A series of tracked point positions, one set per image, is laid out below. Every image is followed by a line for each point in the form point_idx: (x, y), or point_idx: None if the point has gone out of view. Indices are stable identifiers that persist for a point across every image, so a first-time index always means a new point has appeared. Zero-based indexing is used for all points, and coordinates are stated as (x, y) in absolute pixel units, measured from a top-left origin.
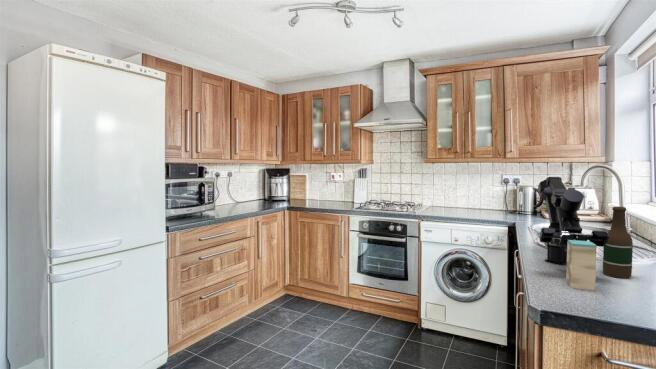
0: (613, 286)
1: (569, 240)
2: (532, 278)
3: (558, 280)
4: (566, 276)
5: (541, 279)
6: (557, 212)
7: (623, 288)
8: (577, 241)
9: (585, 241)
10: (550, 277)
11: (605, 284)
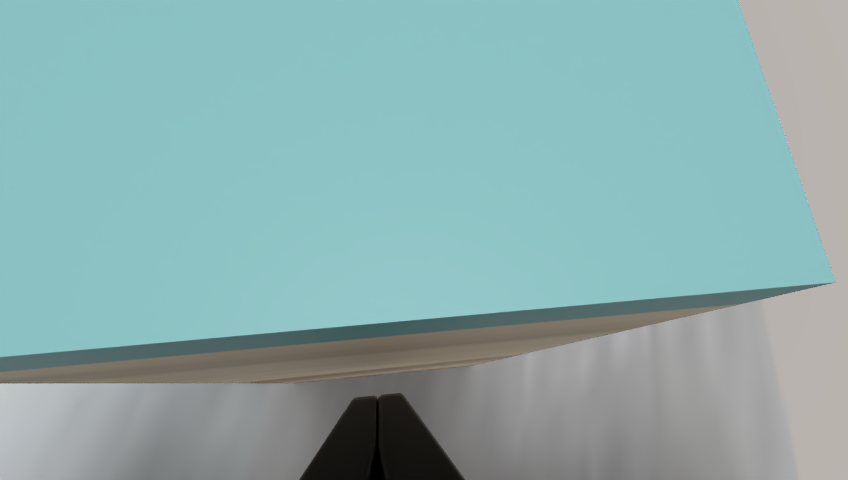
0: (82, 423)
1: (739, 152)
2: (736, 333)
3: (533, 382)
4: (481, 363)
5: (667, 339)
6: None
7: (15, 397)
8: (429, 41)
9: (30, 208)
10: (598, 458)
11: (133, 462)
